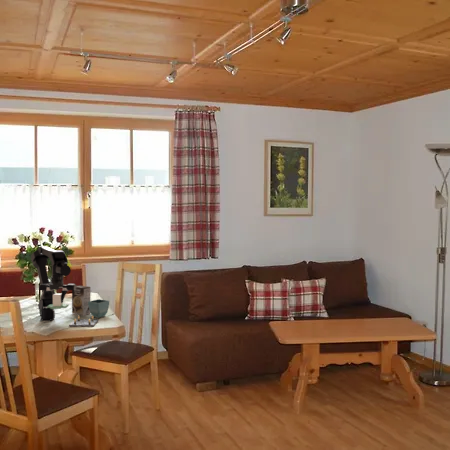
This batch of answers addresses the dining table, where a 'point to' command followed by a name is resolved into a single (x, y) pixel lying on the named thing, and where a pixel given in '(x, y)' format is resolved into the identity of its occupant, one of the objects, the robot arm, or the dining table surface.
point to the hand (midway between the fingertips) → (57, 302)
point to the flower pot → (98, 307)
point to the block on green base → (57, 302)
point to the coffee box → (80, 300)
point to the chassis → (84, 322)
